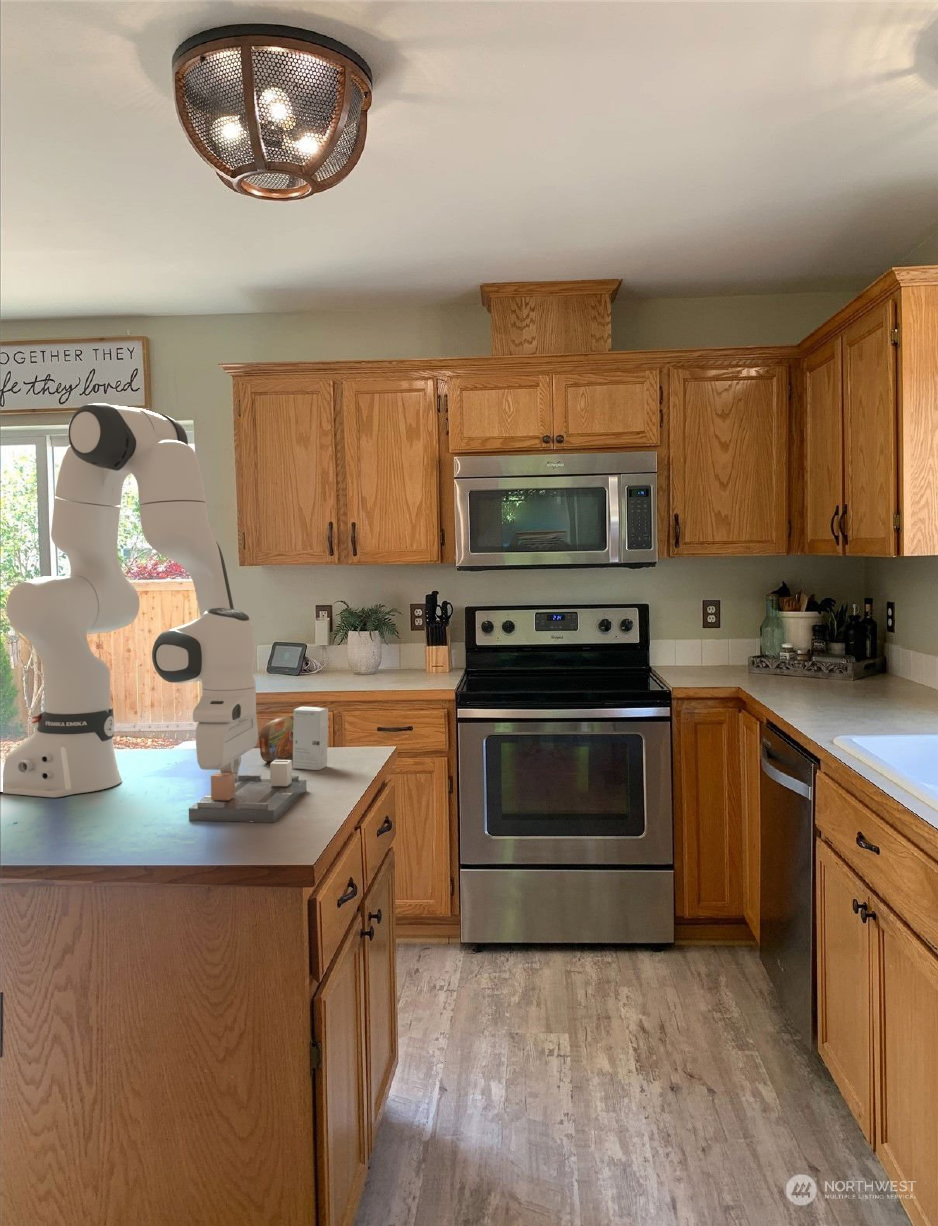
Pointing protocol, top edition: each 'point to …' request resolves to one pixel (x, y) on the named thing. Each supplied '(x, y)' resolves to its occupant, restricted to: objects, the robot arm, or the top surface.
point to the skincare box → (310, 738)
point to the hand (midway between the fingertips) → (230, 784)
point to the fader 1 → (222, 785)
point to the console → (250, 801)
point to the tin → (276, 739)
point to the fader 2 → (280, 772)
